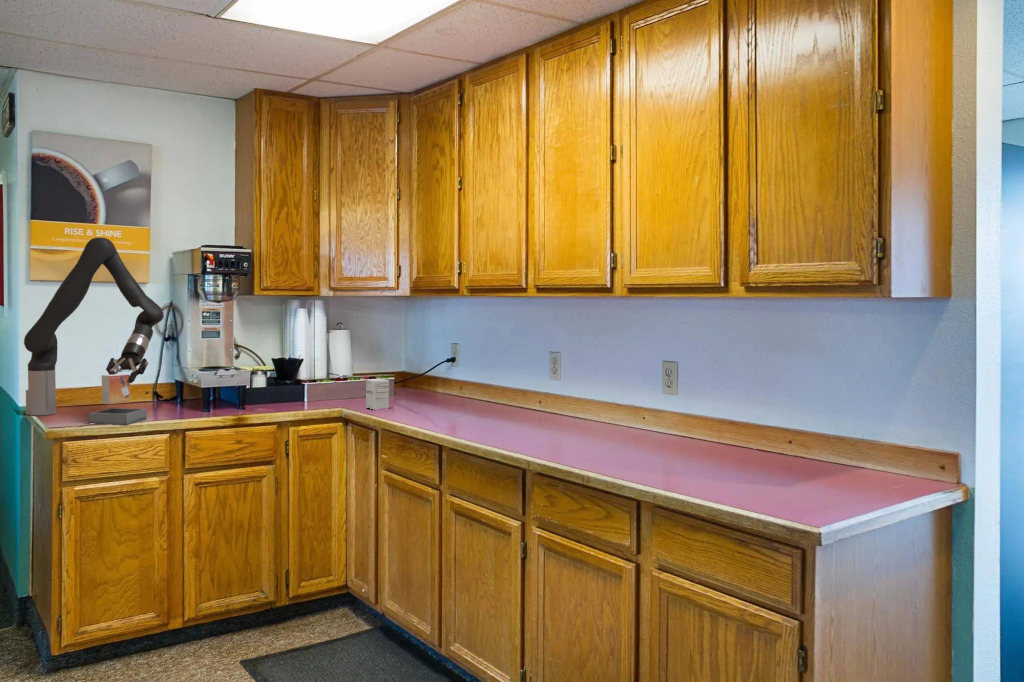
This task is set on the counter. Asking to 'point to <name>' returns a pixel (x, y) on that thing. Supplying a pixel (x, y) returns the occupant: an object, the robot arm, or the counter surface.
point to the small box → (115, 389)
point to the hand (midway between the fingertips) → (119, 381)
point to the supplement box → (377, 393)
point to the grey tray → (117, 416)
